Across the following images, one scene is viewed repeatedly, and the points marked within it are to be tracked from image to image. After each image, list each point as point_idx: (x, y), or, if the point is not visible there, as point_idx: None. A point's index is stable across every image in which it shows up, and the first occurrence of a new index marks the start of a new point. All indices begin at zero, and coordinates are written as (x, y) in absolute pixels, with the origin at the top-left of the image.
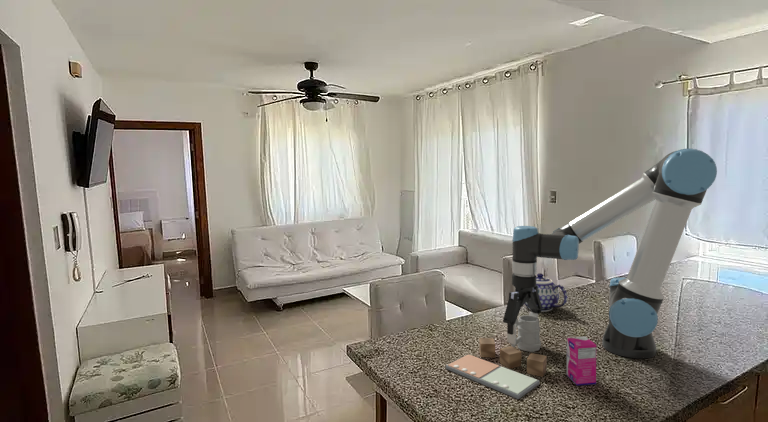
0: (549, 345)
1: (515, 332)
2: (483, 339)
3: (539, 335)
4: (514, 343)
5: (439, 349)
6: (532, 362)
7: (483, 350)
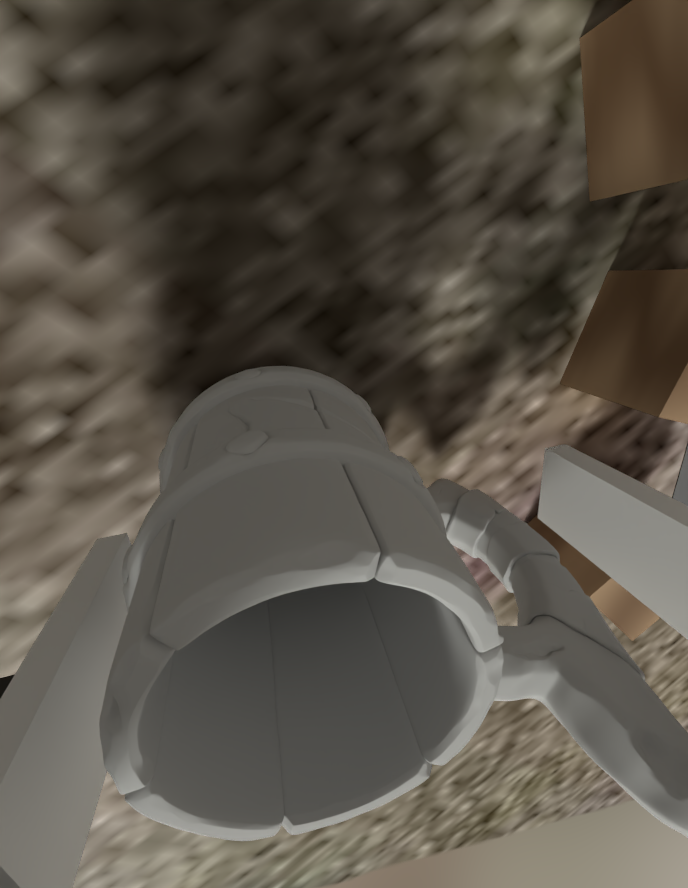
0: (62, 375)
1: (675, 506)
2: (641, 613)
3: (212, 432)
4: (572, 451)
5: (646, 659)
6: None
7: None
